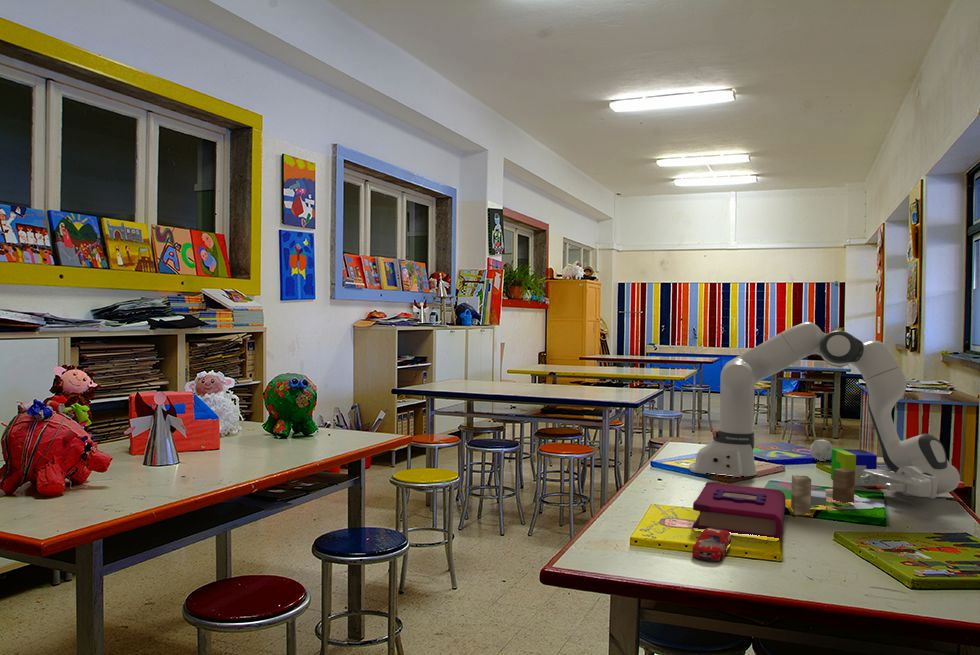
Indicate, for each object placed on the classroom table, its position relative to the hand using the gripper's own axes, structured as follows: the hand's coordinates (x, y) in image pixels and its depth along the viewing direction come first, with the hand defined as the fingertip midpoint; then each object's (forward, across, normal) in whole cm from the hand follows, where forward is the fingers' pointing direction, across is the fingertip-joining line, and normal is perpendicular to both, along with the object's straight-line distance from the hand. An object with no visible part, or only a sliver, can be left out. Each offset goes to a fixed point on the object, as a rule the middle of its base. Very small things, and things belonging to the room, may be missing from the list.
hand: (875, 483), depth 215 cm
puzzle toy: (-14, -22, +6) cm, 27 cm away
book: (+53, +8, +6) cm, 54 cm away
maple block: (+31, +5, +6) cm, 32 cm away
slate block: (+22, 0, +6) cm, 23 cm away
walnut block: (+12, 0, +6) cm, 13 cm away
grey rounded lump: (-30, -54, +6) cm, 62 cm away
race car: (+74, +27, +6) cm, 79 cm away
